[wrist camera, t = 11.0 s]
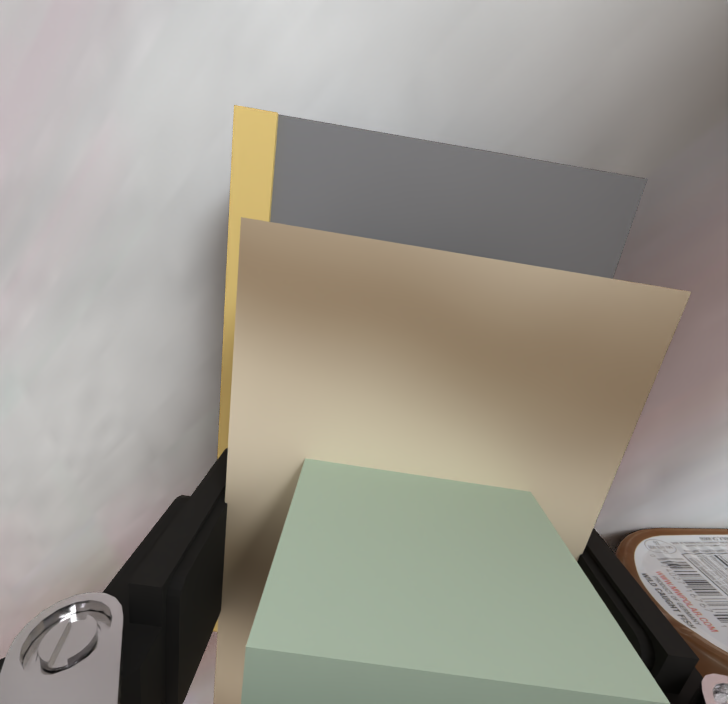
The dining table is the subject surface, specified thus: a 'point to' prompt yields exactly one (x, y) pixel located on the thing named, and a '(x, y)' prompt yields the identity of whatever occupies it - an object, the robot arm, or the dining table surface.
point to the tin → (686, 585)
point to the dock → (417, 202)
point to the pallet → (422, 385)
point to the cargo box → (430, 601)
